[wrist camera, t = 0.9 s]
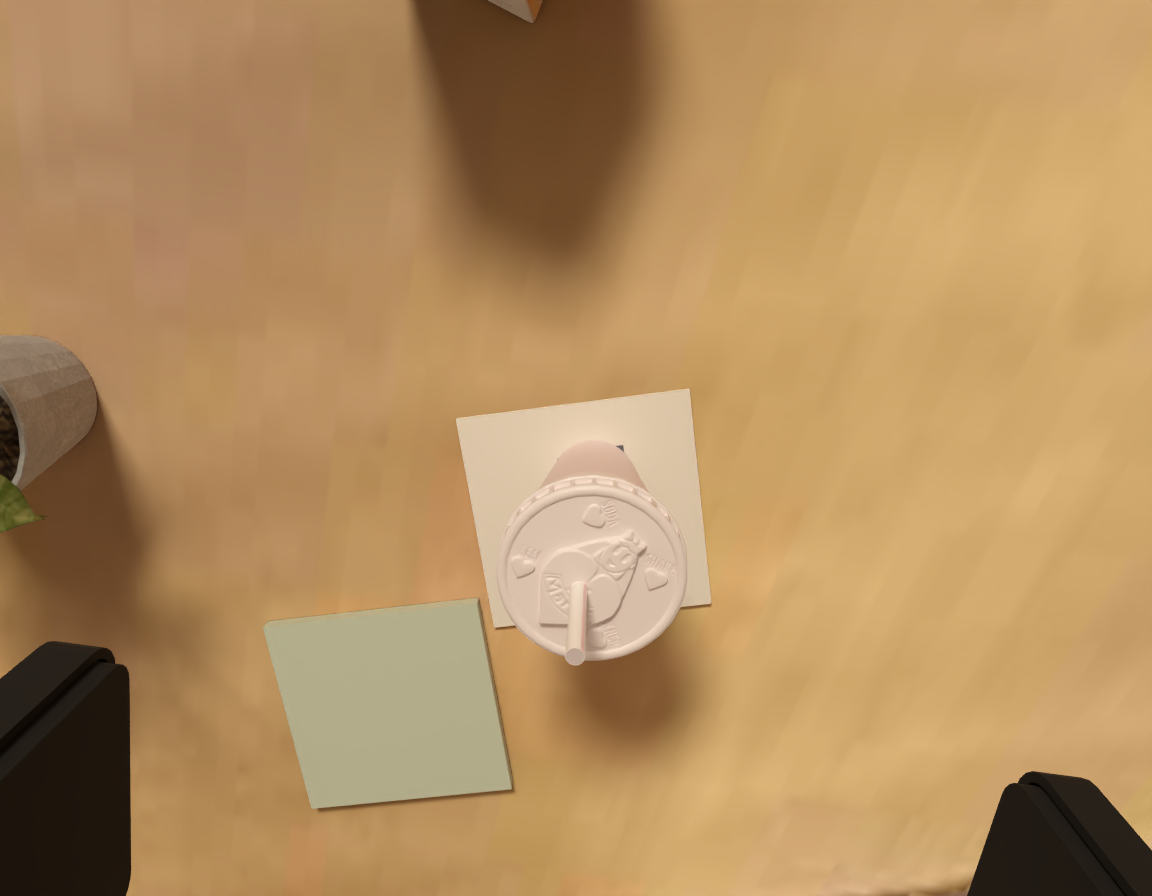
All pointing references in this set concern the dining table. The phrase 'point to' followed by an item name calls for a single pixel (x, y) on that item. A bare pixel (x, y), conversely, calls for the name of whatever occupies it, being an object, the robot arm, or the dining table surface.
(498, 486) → the card
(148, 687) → the dining table surface
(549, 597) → the smoothie
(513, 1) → the small box
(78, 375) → the house plant
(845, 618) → the dining table surface
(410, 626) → the sage pad
